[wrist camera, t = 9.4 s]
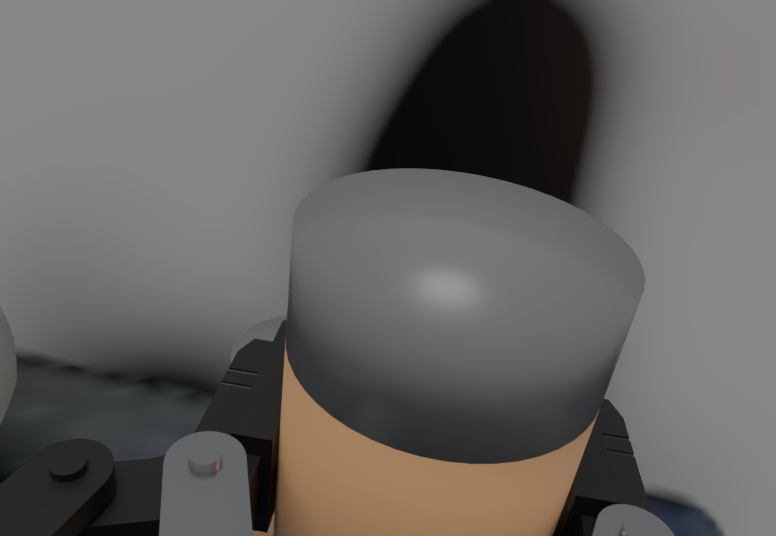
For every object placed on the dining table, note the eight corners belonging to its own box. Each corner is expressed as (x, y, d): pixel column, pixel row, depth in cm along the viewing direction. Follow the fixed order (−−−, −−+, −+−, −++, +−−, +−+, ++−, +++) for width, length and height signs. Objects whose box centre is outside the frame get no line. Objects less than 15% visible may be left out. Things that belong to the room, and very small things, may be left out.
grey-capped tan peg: (250, 827, 13) (278, 319, 7) (272, 592, 17) (302, 156, 11) (498, 823, 14) (713, 349, 8) (460, 596, 18) (579, 183, 12)
